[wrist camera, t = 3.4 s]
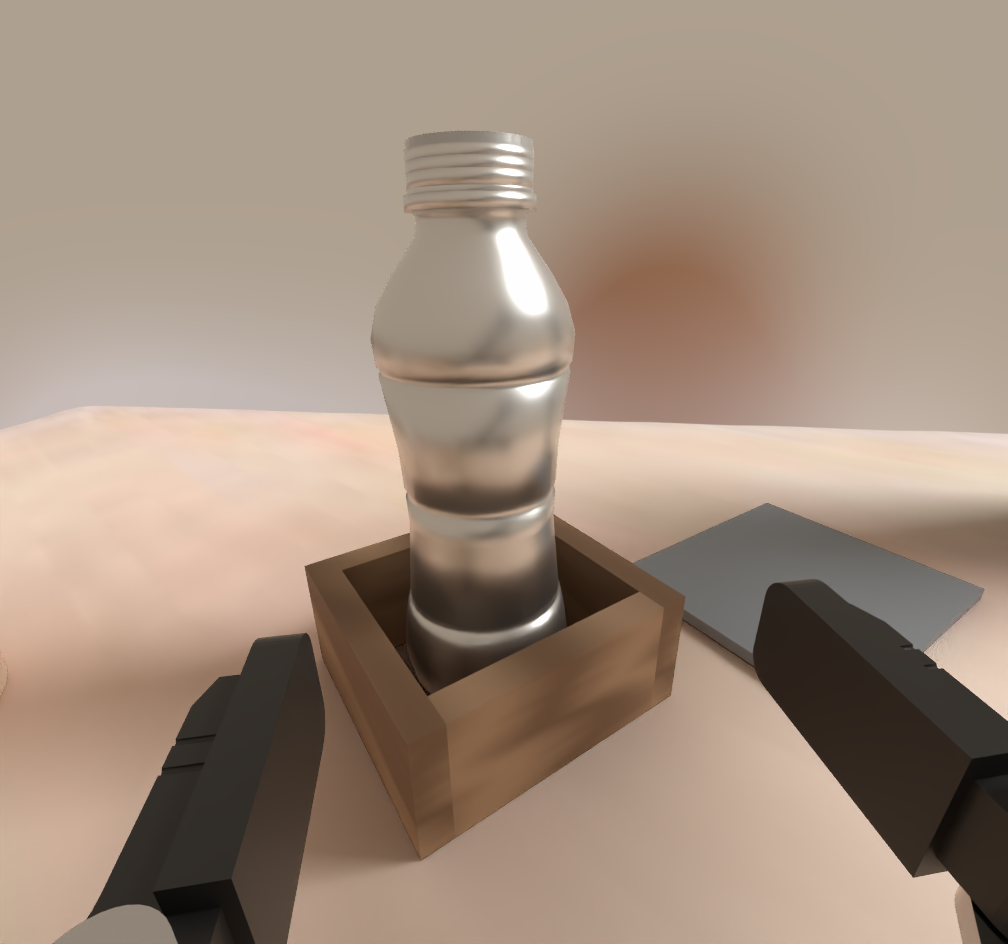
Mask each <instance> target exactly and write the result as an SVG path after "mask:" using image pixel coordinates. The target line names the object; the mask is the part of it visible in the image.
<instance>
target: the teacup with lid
mask: <svg viewBox="0 0 1008 944" xmlns="http://www.w3.org/2000/svg"><path fill="white" fill-rule="evenodd" d="M7 675H8V670H7V665H6V663H5V660H4V658H3V656H2V654H1V653H0V696H1V694H2V692H3V690H4V688H5V685H6V681H7Z"/></svg>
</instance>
